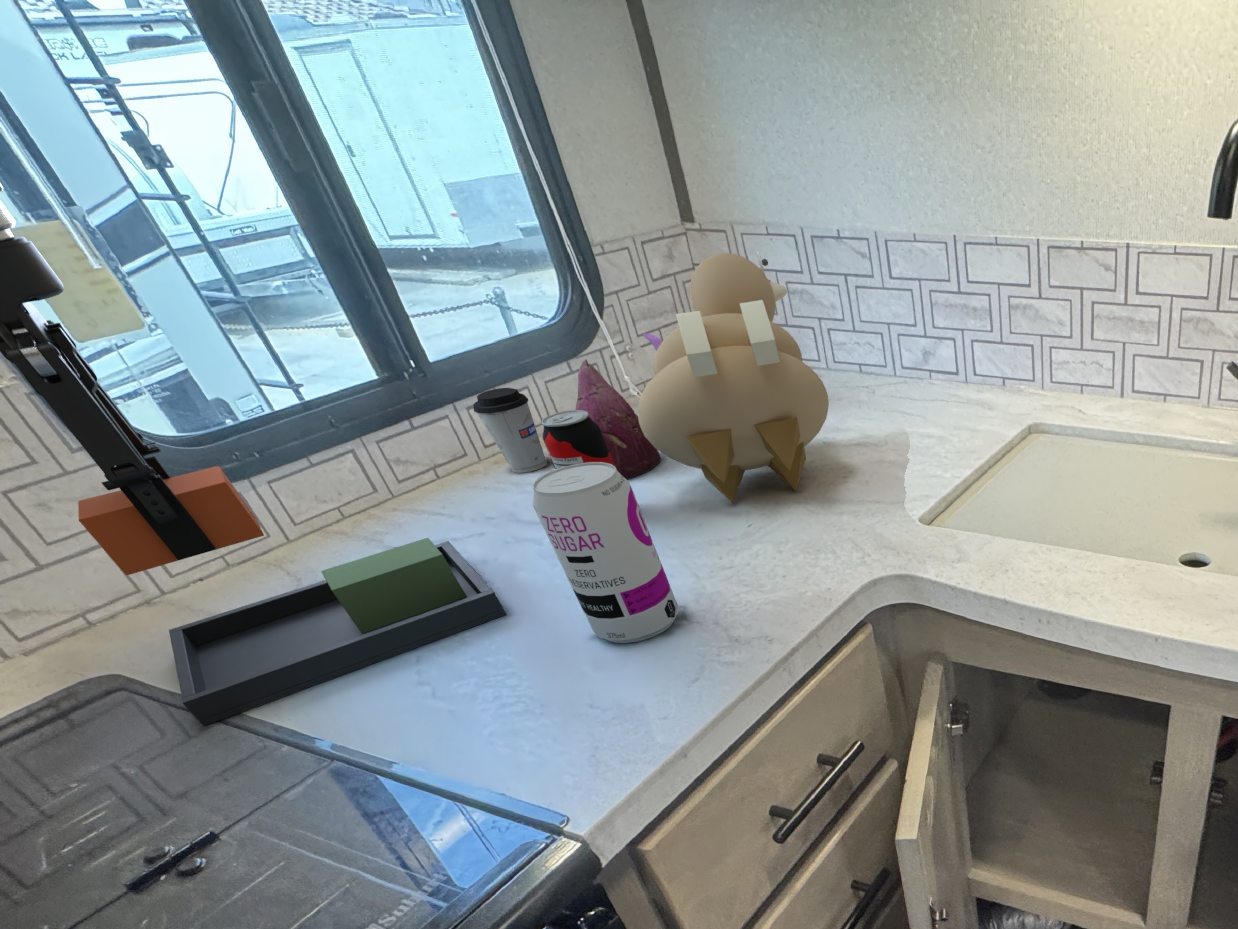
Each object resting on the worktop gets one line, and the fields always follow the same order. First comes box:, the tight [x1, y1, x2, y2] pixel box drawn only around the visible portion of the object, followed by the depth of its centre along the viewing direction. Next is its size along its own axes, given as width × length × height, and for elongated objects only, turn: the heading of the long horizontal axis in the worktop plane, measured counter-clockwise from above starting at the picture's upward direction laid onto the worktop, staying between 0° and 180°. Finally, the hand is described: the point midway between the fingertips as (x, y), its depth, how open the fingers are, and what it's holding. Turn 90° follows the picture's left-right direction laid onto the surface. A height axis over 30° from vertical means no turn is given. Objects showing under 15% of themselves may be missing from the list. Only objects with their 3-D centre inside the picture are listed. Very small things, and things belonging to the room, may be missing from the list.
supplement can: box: [532, 462, 680, 644], centre depth 79 cm, size 8×8×15 cm
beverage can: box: [541, 409, 615, 470], centre depth 101 cm, size 6×6×12 cm
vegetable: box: [574, 359, 662, 480], centre depth 114 cm, size 10×10×15 cm
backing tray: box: [168, 540, 507, 727], centre depth 85 cm, size 18×26×3 cm
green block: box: [321, 537, 467, 634], centre depth 87 cm, size 6×10×5 cm, turn 132°
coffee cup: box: [473, 387, 548, 474], centre depth 116 cm, size 7×7×10 cm
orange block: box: [77, 465, 265, 576], centre depth 73 cm, size 6×10×5 cm, turn 133°
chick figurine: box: [637, 250, 830, 504], centre depth 102 cm, size 30×28×23 cm
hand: (193, 542), depth 75 cm, fingers closed on orange block, 6 cm apart
